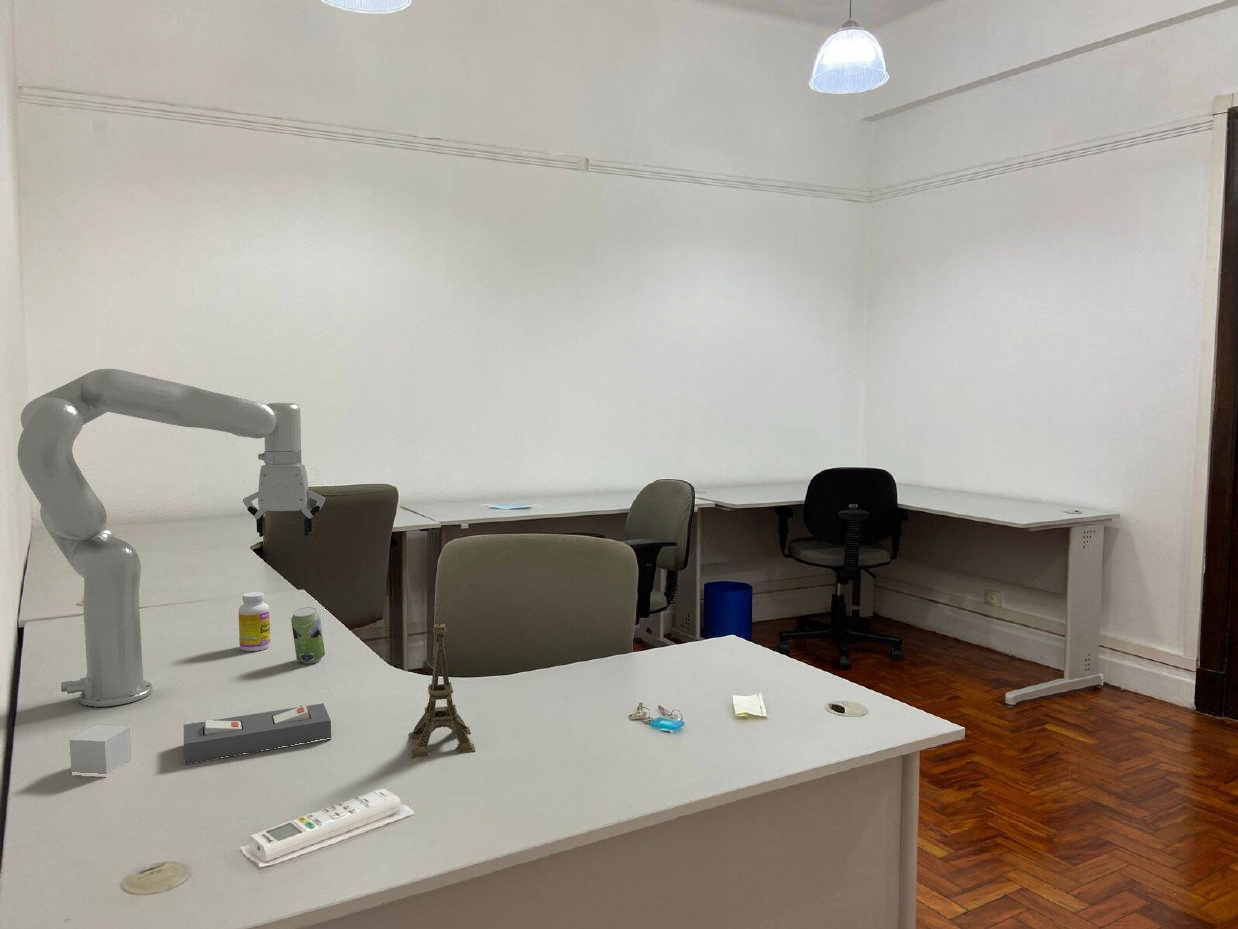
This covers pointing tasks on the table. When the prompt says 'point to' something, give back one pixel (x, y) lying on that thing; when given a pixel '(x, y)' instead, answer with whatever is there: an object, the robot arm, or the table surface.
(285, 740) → the rocker switch panel
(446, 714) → the eiffel tower
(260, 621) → the supplement bottle
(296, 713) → the right rocker
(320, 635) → the beverage can
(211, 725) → the left rocker
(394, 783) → the table surface
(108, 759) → the pale grey cube
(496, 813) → the table surface
